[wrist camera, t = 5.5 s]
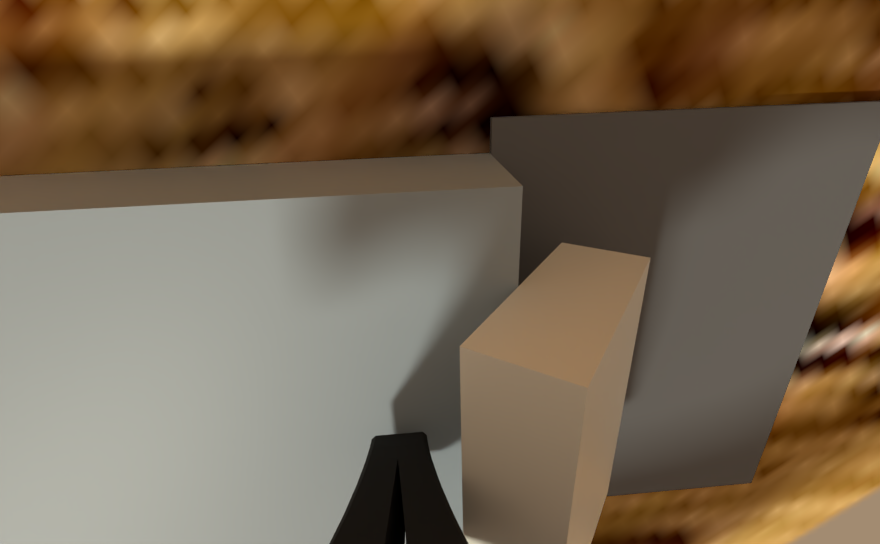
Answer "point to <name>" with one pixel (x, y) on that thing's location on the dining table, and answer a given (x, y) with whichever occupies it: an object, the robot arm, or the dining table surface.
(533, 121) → the mat
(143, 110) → the dining table surface
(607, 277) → the cream rectangular block
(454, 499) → the grey flat block
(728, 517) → the dining table surface
